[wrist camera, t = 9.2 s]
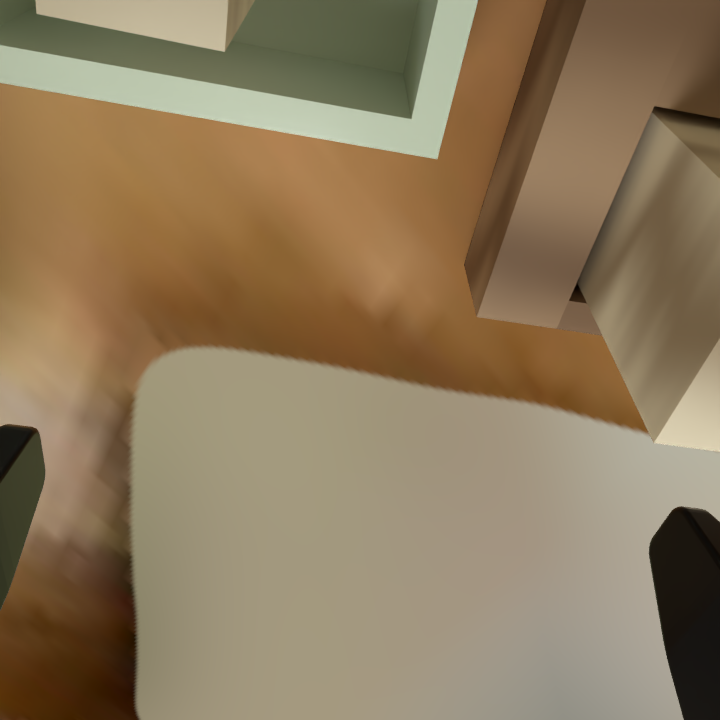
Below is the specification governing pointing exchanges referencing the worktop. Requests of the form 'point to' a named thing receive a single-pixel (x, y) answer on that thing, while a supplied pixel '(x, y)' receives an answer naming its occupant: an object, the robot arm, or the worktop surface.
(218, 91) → the green open tray
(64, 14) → the block
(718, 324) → the block
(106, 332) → the worktop surface
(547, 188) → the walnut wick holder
